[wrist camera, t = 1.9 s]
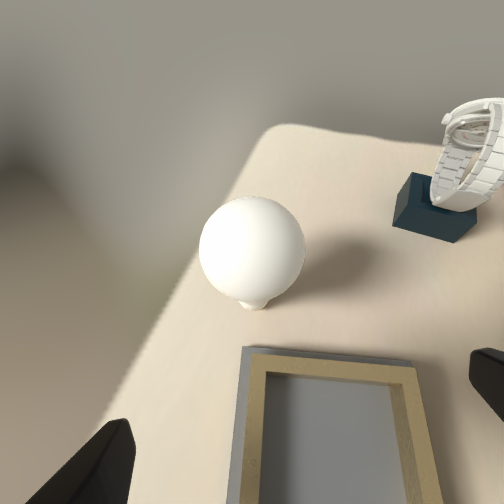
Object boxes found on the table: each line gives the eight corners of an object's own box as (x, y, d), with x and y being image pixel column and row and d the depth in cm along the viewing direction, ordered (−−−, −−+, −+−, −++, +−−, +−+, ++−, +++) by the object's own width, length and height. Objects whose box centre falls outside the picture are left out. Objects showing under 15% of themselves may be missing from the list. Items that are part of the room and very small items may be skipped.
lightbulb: (266, 256, 25) (272, 158, 15) (305, 313, 22) (340, 236, 13) (205, 286, 23) (170, 199, 14) (238, 351, 21) (222, 296, 11)
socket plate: (472, 716, 12) (524, 790, 10) (209, 674, 13) (198, 732, 11) (405, 362, 20) (425, 355, 18) (242, 348, 21) (240, 339, 18)
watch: (454, 195, 28) (553, 85, 19) (453, 258, 24) (575, 159, 15) (398, 181, 29) (465, 71, 20) (388, 239, 26) (465, 136, 16)
